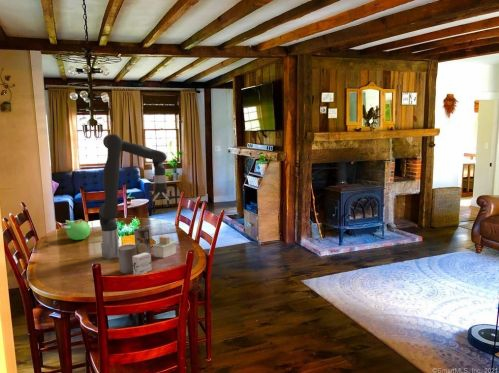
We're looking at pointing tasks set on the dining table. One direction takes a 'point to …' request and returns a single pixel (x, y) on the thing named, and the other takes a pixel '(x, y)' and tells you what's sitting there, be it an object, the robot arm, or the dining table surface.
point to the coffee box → (142, 240)
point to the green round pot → (77, 229)
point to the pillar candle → (126, 258)
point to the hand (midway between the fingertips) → (161, 206)
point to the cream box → (165, 251)
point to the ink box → (142, 263)
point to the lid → (164, 242)
